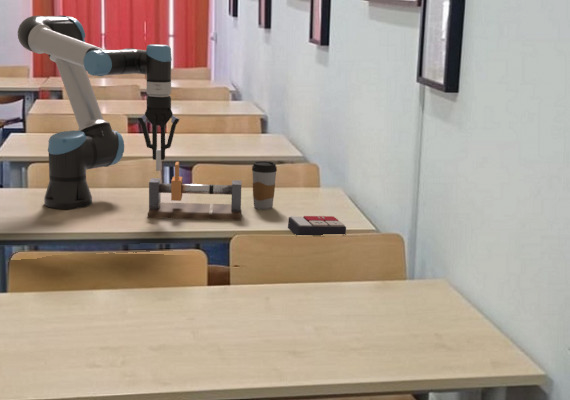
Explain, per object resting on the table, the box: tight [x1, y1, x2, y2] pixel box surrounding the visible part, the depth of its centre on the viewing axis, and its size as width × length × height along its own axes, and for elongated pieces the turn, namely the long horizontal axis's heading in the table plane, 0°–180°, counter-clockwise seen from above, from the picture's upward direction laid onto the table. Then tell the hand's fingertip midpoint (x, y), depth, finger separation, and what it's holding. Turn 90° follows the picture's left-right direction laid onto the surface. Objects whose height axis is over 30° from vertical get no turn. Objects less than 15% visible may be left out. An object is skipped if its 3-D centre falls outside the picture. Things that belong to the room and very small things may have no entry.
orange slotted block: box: [170, 161, 183, 202], centre depth 260 cm, size 3×6×11 cm, turn 3°
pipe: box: [148, 177, 242, 213], centre depth 262 cm, size 29×6×9 cm, turn 93°
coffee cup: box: [251, 160, 278, 210], centre depth 272 cm, size 8×8×15 cm
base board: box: [147, 202, 242, 221], centre depth 263 cm, size 29×14×2 cm, turn 93°
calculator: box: [287, 215, 347, 236], centre depth 248 cm, size 11×4×15 cm
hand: (158, 169), depth 259 cm, fingers closed
